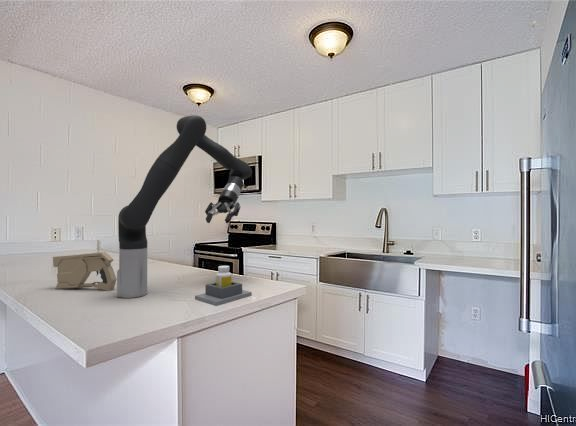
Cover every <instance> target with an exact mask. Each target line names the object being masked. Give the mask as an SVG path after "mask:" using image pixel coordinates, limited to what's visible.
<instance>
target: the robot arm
mask: <svg viewBox="0 0 576 426" xmlns="http://www.w3.org/2000/svg"><path fill="white" fill-rule="evenodd" d="M176 130H177V133H178V134H179V135H178V136H177V138H176V139H175V140H174V142H172V143H171V144H170V145H169V146H168V147H166V148H165V150H163V151H162V152H161V153H160V154H159V155H158V157H157V158H156V159H155V161H154V162H153V164H152V165H151V167H150V169H149V171H148V172H147V174H146V176H145V178H144V181H143V183H142V186H141V188H140V189H139V192H137V194H136V195H135V197H134V198H133V199H132V201H130V203H129V204H127V205H125V206H124V207H122V209H120V211H119V212H118V213H119V214H118V216H117V217H118V221H117V222H118V226H117V228H118V245H119V248H118V249H119V250H118V252H119V254H118V255H119V260H118V261H119V264H118V265H119V266H118V267H119V269H118V270H117V271H116V297H117V298H125V299H130V298H131V299H133V298H139V297H144V296H146V295H147V294H148V239H147V232H146V231H147V228H146V227H147V225H148V223H149V221H150V219H151V217H152V215H153V212H154V211H155V208H156V206H157V205H158V202H159V201H160V200H161V199H162V197H163V196H164V194H166V192H167V190H168V189H169V187H170V186H171V185H172V183H173V182H174V180H175V179H176V177H177V175H178V174H179V173H180V170H182V168H183V166H184V164H185V162H186V161H187V159H188V158H189V156H190V155H191V152H192V151H193V150H194V149H195V147H197V148H198V149H200V150H201V151H203V152H205V153H206V154H208V155H209V156H210V157H211V158H213V160H215V162H217V164H219V165H221V166H222V167H223V168H224V169H225V170H227V171H229V170H230V171H229V173H228V174H229V175H228V181H227V183H226V185H225V186H224V187H223V189H222V191H221V192H220V194H219V197H218V200H217V202H216V203H213V202H209V204H208V205H207V207H206V208H205V211H204V212H205V214H206V218H205V220H206V223H207V224H210V223H211V221H212V219H213V217H214V216H215V215H216V216H217V215H218V214H227V215H226V217H225V219H224V222H225V223H226V224H229V223H230V222H231V220H232V218H233V217H238V216H239V213H240V210H241V205H240V202H239V201H238V199H239V197H240V194H241V191H242V189H243V187H244V180H247V179H248V178H251V176H252V173H253V170H252V168H251V166H250V165H249V163H247V162H246V161H244V160H242V159H240V158H238V157H236V156H234V155H233V154H232V153H231V152H230V150H228V149H227V148H226V147H224V146H223V145H221V144H219V143H217V142H216V141H214V140H213V139H211V138H209V137H208V136H207V135H206V132H207V122H206V120H205V119H204V118H203V117H202V116H200V115H197V114H195V115H194V114H192V115H187V116H183V117H181V118H179V119H178V120H177V122H176ZM237 201H238V202H237Z"/></svg>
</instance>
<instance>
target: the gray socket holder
mask: <svg viewBox="0 0 576 426" xmlns="http://www.w3.org/2000/svg"><path fill="white" fill-rule="evenodd" d="M251 296H253V294H252V291H249V290H245V289H243V283H241V282H237V281H232V280H231V286H226V287H219V286H216V281H215V282H211V283H210V282H209V283H207V284H205V292H204V293H200V294H197V295H194V300H197V301H200V302H203V303H206V304H209V305H212V306H221V305H224V304H227V303H230V302H231V303H232V302H234V301H236V300H237V301H238V300H240V299H245V298H247V297H251Z"/></svg>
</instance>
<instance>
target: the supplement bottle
mask: <svg viewBox="0 0 576 426" xmlns="http://www.w3.org/2000/svg"><path fill="white" fill-rule="evenodd" d="M217 268H218V272H217V273H216V274H215V275H216V276H215V277H216V278H215V282H216V286H219V287H226V286H231V281H232V273H231V272H230V266H229V265H219V266H217Z"/></svg>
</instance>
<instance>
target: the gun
mask: <svg viewBox="0 0 576 426" xmlns="http://www.w3.org/2000/svg"><path fill="white" fill-rule="evenodd" d="M113 261H114V258H113V257H112V256H111V255H110V254H109V253H107V252H106V251H102V252H101V251H100V252H90V253H82V254H71V255H70V254H68V255H67V254H66V255H59V256H58V255H57V256H53V257H52V265H53V266H52V267H53V268H56V269H57V273H56V278H57V279H56V281H57V283H56V286H55V288H54V289H55V290H70V289H80V288H96V289H99V290H103V291H107V292H109V291H112V290H114V289H115V285H116V284H117V275H116V273H115V271H114V268H113V265H111V263H112V262H113ZM92 272H95V273H96V277H97V276H98V275H99V274H100V279H101V280H102V281H95V282H86V281H87V280H88V278H89V277H90V275H91V274H92Z"/></svg>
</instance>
